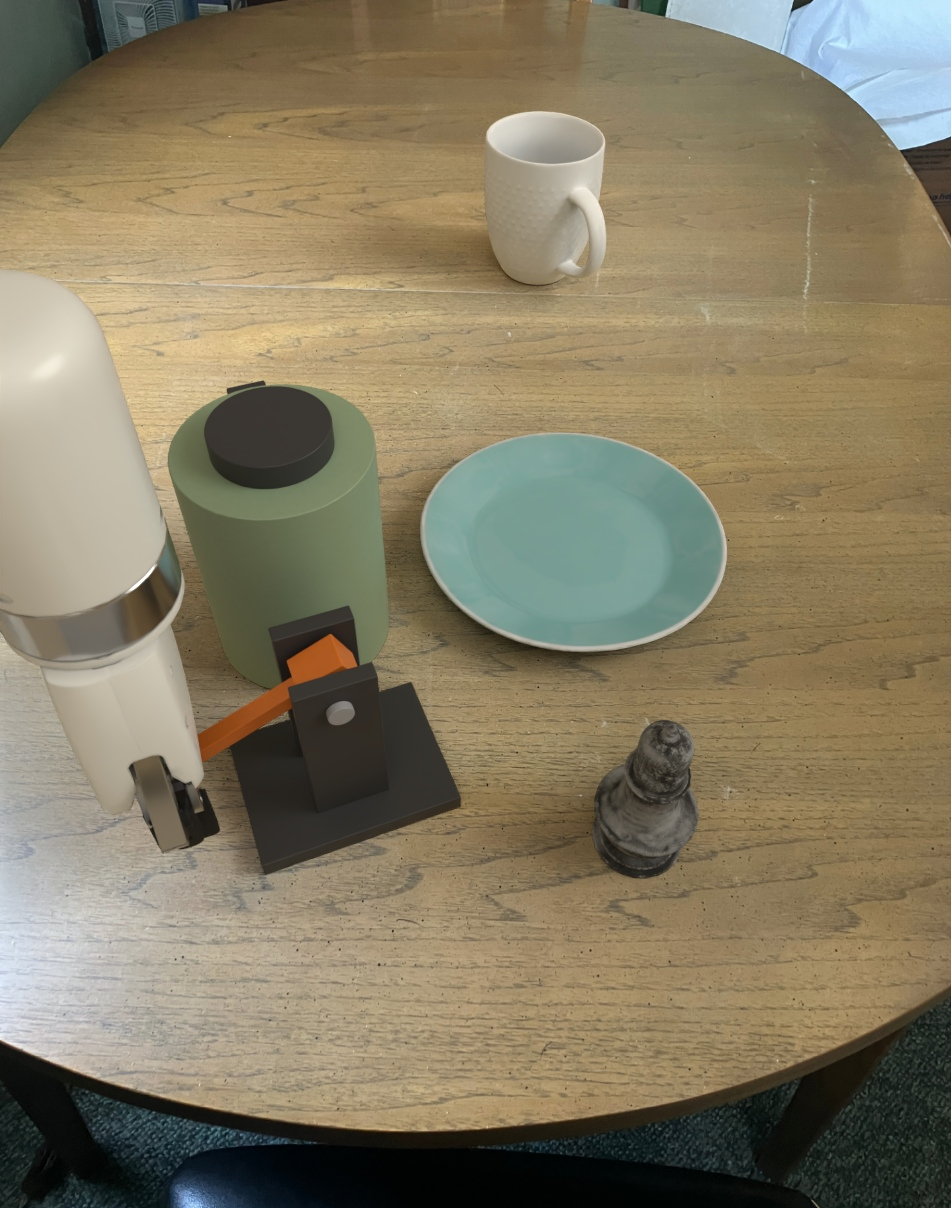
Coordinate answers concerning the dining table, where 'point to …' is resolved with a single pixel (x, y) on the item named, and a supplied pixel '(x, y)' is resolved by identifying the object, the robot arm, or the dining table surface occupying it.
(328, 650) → the orange pivot lever
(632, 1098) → the dining table surface
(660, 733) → the chess piece
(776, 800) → the dining table surface
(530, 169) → the mug
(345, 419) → the green canister
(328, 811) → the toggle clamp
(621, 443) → the plate
